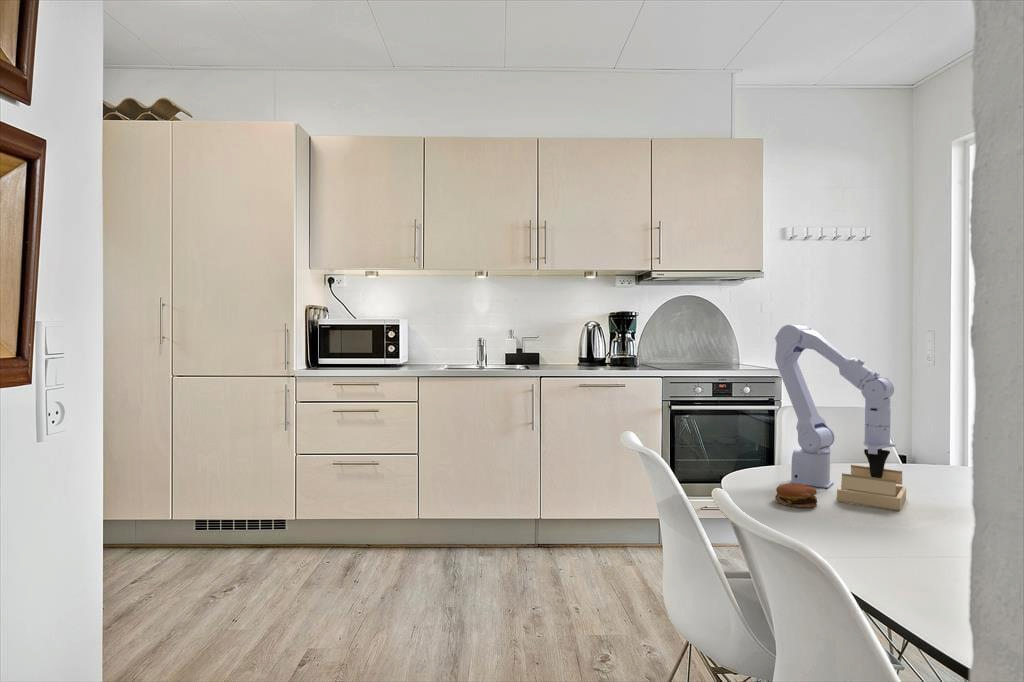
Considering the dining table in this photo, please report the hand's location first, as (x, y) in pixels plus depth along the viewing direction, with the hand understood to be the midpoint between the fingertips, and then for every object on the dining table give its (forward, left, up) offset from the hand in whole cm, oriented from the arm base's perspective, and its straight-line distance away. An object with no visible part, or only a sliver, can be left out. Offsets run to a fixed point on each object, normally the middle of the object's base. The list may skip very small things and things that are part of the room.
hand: (876, 478), depth 169 cm
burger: (-14, -21, -5) cm, 26 cm away
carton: (0, -6, -4) cm, 7 cm away
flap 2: (0, -13, -1) cm, 13 cm away
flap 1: (0, +1, -1) cm, 2 cm away
